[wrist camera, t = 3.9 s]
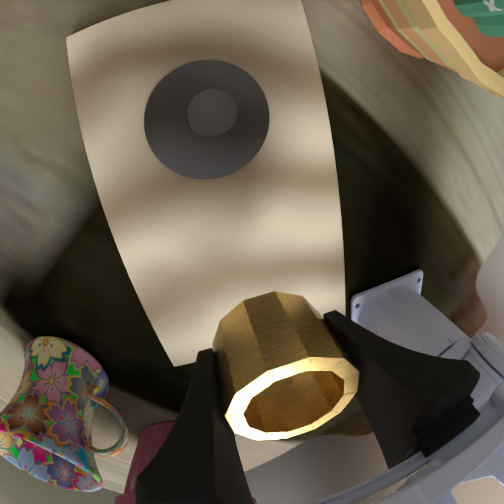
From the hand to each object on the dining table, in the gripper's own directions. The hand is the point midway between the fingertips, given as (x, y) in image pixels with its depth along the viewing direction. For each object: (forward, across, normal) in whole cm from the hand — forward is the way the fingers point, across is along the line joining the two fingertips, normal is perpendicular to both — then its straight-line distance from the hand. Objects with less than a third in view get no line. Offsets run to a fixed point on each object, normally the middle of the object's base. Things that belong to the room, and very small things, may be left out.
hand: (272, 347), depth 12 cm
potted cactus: (+8, -17, -18) cm, 26 cm away
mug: (+8, +16, +5) cm, 19 cm away
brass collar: (+1, 0, 0) cm, 1 cm away
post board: (+8, 0, -6) cm, 10 cm away
